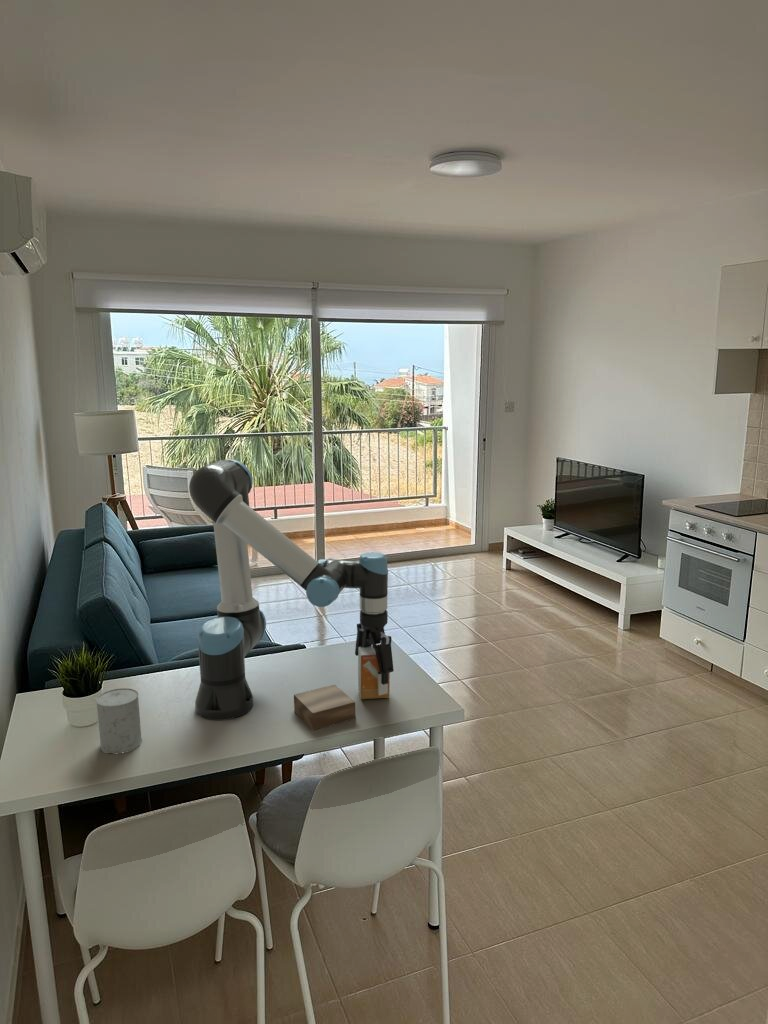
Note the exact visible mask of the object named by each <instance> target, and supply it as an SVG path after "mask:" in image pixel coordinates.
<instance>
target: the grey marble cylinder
mask: <svg viewBox="0 0 768 1024" xmlns="http://www.w3.org/2000/svg"><path fill="white" fill-rule="evenodd" d="M95 702H96V708H97V709H96V710H97V720H98V729H99V730H98V731H99V740H100V750H101V751H102V752H103V753H105V752H106V753H105V754H107V753H114V754H113V755H116V754H115V753H122V752H126V753H128V752H127V751H130V750H132V751H134V750H136V749H137V748H139V747H140V746H141V745H140V744H142V742H143V738H142V728H141V726H142V725H141V717H140V716H141V715H140V704H139V703H140V702H139V692H138V691H137V690H136V689H133V688H128V687H126V688H125V687H124V688H123V687H122V688H113V689H110V690H107V691H105V692H103V693H101V694H99V695H98V696H97V697H96V699H95ZM139 745H140V746H139ZM138 746H139V747H138ZM135 748H136V749H135ZM133 749H134V750H133ZM130 752H131V751H130ZM122 754H123V753H122Z"/></svg>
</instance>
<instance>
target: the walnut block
mask: <svg viewBox="0 0 768 1024" xmlns="http://www.w3.org/2000/svg"><path fill="white" fill-rule="evenodd" d="M293 707H294V709H293V711H294V712H295V713H296V714H297V715H298V716H299V718H300V719H302V721H304V722H305V724H307V726H309V728H310V729H311V730H312V731H317V730H320V729H323V727H324V728H326V727H330V725H331V726H333V724H334V725H337V723H338V724H341V722H342V723H344V722H348V721H352V720H355V719H357V717H356V716H357V715H356V701H355V700H354V699H352V698H351V696H349V695H348V694H347V693H346V692H344V691H343V690H342V689H341V688H339V687H338V685H336V684H332V685H329V686H328V685H327V686H324V687H323V686H322V687H319V688H315V689H311V690H308V691H303V692H300V693H295V694H293ZM319 728H320V729H319Z"/></svg>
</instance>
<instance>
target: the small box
mask: <svg viewBox="0 0 768 1024" xmlns="http://www.w3.org/2000/svg"><path fill="white" fill-rule="evenodd" d="M357 657H358V658H357V660H358V661H357V664H358V665H357V668H358V669H357V676H358V677H357V678H358V679H357V680H358V681H357V682H358V683H357V684H358V686H357V687H358V693H359V698H360V700H371V699H389V698H390V684H391V683H390V678H391V677H390V676H391V675H390V673H391V672H390V673H388V693H387V694H383V695H380V696H379V695H378V672H380V670H379V665H378V661H377V657H376V652H375V649H374V648H373V646H369V647H365V648H364V647H358V656H357Z"/></svg>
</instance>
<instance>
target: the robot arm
mask: <svg viewBox="0 0 768 1024" xmlns="http://www.w3.org/2000/svg"><path fill="white" fill-rule="evenodd" d="M253 483H254V482H253V476H252V473H251V471H250V469H249V468H248V466H247V465H245V464H244V463H242V462H241V461H239V460H236V459H233V458H229V459H221V460H219V459H218V460H217V461H215V462H213V463H210V464H205V465H204V466H201V467H200V468H198V469H197V470H196V471H194V473H193V475H192V476H191V478H190V481H189V484H188V485H189V486H188V489H189V494H190V497H191V500H192V501H193V503H194V504H195V506H196V507H197V508H198V509H199V510H200V511H201V512H202V513H203V514H204V515H205V516H206V517H208V519H210V520H212V524H213V533H214V543H215V552H216V561H217V562H216V563H217V571H218V578H219V580H218V581H219V589H220V598H221V600H220V602H219V604H217V606H216V611H217V613H216V614H217V617H215V618H213V619H209V620H207V621H205V622H204V623H203V624H202V625H201V626H200V627H199V629H198V632H197V647H198V658H199V659H198V660H199V663H198V664H199V673H200V674H199V675H200V683H199V687H198V691H197V694H196V698H195V701H194V702H195V703H194V704H195V706H194V707H195V713H196V714H197V715H198V716H199V717H200V718H204V719H205V720H213V721H220V720H221V721H223V720H231V719H234V718H235V719H236V718H239V717H240V716H241V717H242V716H244V715H245V714H247V713H248V712H250V711H251V709H252V708H253V707H254V696H253V693H252V690H251V688H250V686H249V683H248V681H247V679H246V663H245V659H246V658H245V657H246V656H247V654H249V653H250V652H251V651H252V650H253V648H255V646H256V645H258V643H260V641H261V640H262V639H263V636H264V635H265V632H266V629H267V620H266V616H265V613H264V612H263V610H261V609H260V603H259V601H258V600H257V599H256V598H255V597H253V588H252V576H251V567H250V558H249V557H250V556H249V549H248V548H249V546H250V547H251V548H252V549H254V550H255V551H257V553H258V554H260V555H261V556H262V557H264V558H265V559H266V560H268V561H269V562H270V563H271V564H272V565H274V566H275V567H276V568H277V569H278V570H280V571H281V572H282V573H284V574H285V575H286V576H287V577H288V578H289V579H291V580H292V581H294V583H296V584H297V585H298V586H299V587H301V588H302V589H303V590H304V591H305V595H306V598H307V600H308V602H309V603H311V604H312V605H313V606H316V607H319V608H323V607H324V608H325V607H327V606H330V605H331V604H332V603H333V602H335V601H336V600H337V599H338V597H339V596H340V593H341V592H342V591H343V590H344V589H359V610H360V611H359V623H356V638H355V639H356V641H355V647H354V648H355V649H354V655H355V656H357V657H358V647H364V648H365V647H369V646H373V648H374V649H375V652H376V657H377V661H378V665H379V670H380V672H378V695H379V696H380V695H383V694H387V693H388V673H393V672H394V661H393V652H392V639H393V638H392V636H391V635H386V632H385V627H386V625H387V624H388V616H389V613H388V610H387V609H388V587H389V585H388V583H389V580H388V579H389V577H388V576H389V569H388V557H387V556H386V555H385V553H382V552H377V551H375V552H363V553H361V554H360V555H359V559H357V560H351V559H334V558H327V559H326V558H321V559H318V560H316V559H315V558H314V557H312V556H311V555H310V554H308V553H307V552H306V551H305V550H304V549H302V548H301V547H300V546H299V545H297V544H296V543H295V542H294V541H293V540H292V539H290V538H289V537H287V536H286V535H285V533H283V532H282V531H280V530H279V529H278V528H276V526H274V525H273V524H271V523H270V522H269V521H268V520H266V519H265V518H264V517H263V516H261V514H259V513H258V512H257V511H255V510H254V509H253V508H252V507H251V506H250V497H249V494H250V493H251V491H252V488H253ZM248 545H249V546H248Z"/></svg>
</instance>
